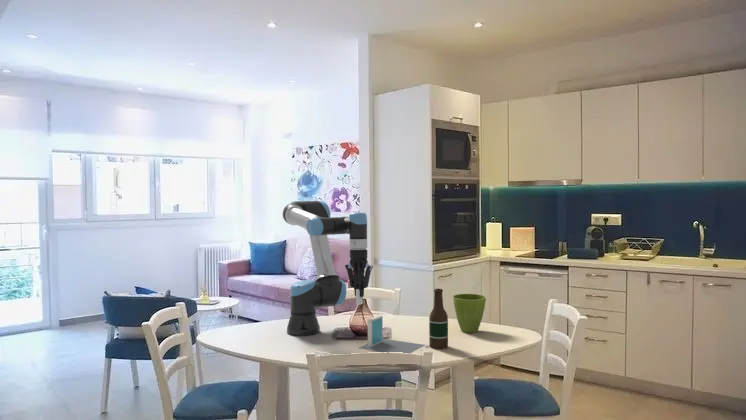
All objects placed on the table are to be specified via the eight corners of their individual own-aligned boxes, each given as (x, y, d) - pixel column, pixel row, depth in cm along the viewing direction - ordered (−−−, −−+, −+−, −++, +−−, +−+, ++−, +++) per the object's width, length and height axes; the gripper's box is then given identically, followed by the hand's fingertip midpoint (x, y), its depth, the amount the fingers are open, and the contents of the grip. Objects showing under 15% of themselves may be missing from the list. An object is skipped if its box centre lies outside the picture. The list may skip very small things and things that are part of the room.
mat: (357, 349, 225) (357, 348, 225) (380, 339, 241) (380, 338, 241) (404, 357, 214) (404, 355, 214) (425, 346, 229) (425, 344, 229)
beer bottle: (427, 344, 232) (427, 287, 231) (446, 344, 232) (445, 287, 232) (431, 349, 224) (430, 290, 223) (450, 349, 225) (449, 290, 224)
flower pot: (493, 332, 252) (492, 297, 252) (469, 337, 244) (469, 301, 243) (469, 325, 264) (469, 292, 264) (446, 330, 256) (446, 296, 255)
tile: (367, 346, 228) (367, 319, 228) (379, 341, 236) (378, 315, 235) (371, 346, 227) (371, 320, 227) (383, 341, 235) (382, 316, 234)
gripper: (340, 249, 235) (341, 304, 235) (366, 250, 228) (367, 307, 228) (350, 247, 241) (351, 301, 242) (376, 248, 234) (377, 304, 235)
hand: (359, 304), depth 235 cm, fingers closed
